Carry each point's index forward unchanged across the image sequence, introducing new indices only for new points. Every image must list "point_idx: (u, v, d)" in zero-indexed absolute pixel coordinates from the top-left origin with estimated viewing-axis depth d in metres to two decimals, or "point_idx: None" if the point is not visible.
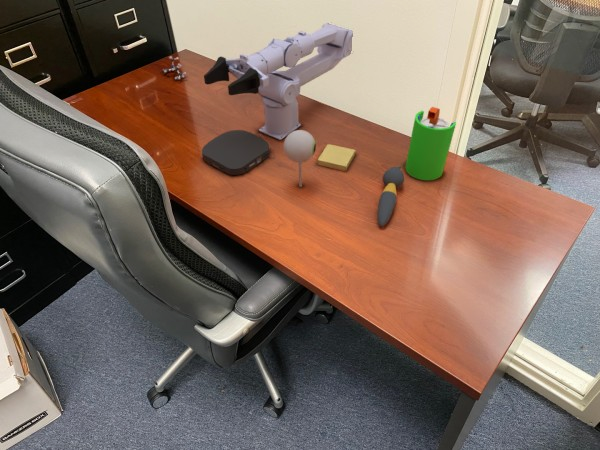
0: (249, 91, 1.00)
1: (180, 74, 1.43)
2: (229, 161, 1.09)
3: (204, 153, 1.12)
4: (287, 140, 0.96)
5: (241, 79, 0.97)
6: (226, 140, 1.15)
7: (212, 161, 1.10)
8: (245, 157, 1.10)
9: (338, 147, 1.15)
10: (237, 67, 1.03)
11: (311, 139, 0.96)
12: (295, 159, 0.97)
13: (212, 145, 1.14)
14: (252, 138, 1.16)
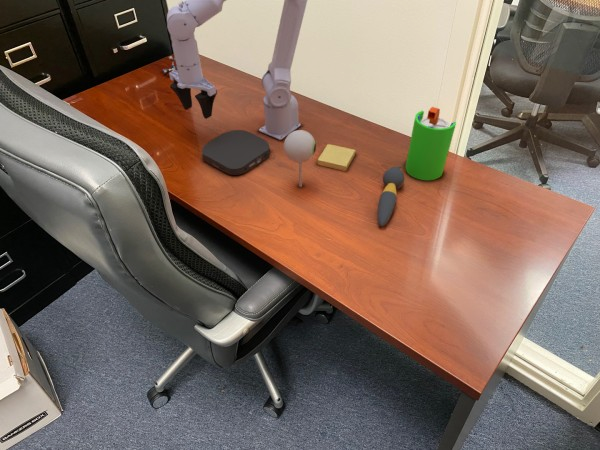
0: (213, 99, 1.10)
1: None
2: (229, 161, 1.09)
3: (204, 153, 1.12)
4: (287, 140, 0.96)
5: (203, 108, 1.10)
6: (226, 140, 1.15)
7: (212, 161, 1.10)
8: (245, 157, 1.10)
9: (338, 147, 1.15)
10: None
11: (311, 139, 0.96)
12: (295, 159, 0.97)
13: (212, 145, 1.14)
14: (252, 138, 1.16)
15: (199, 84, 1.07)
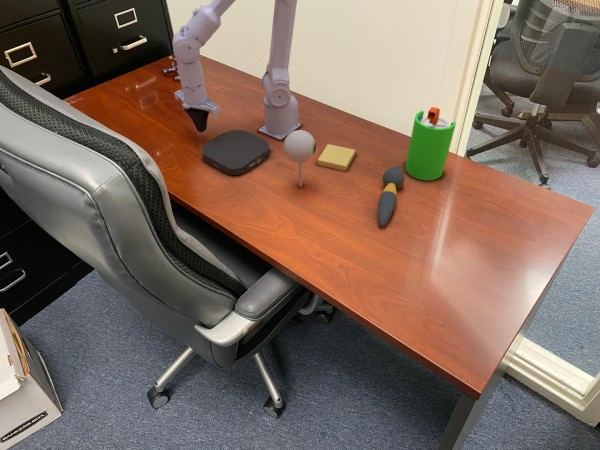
0: (208, 114, 1.15)
1: None
2: (229, 161, 1.09)
3: (204, 153, 1.12)
4: (287, 140, 0.96)
5: (198, 123, 1.15)
6: (226, 140, 1.15)
7: (212, 161, 1.10)
8: (245, 157, 1.10)
9: (338, 147, 1.15)
10: None
11: (311, 139, 0.96)
12: (295, 159, 0.97)
13: (212, 145, 1.14)
14: (252, 138, 1.16)
15: (203, 104, 1.11)
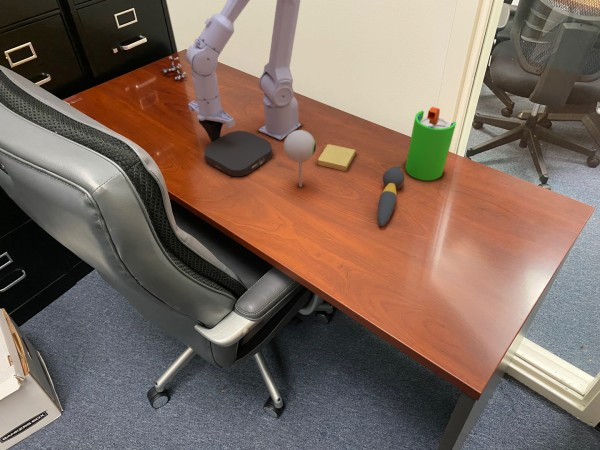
0: (221, 125, 1.14)
1: (180, 74, 1.43)
2: (231, 162, 1.09)
3: (206, 154, 1.12)
4: (287, 140, 0.96)
5: (211, 134, 1.14)
6: (229, 141, 1.15)
7: (214, 162, 1.10)
8: (248, 158, 1.10)
9: (338, 147, 1.15)
10: None
11: (311, 139, 0.96)
12: (295, 159, 0.97)
13: (214, 146, 1.14)
14: (254, 139, 1.15)
15: (218, 116, 1.10)
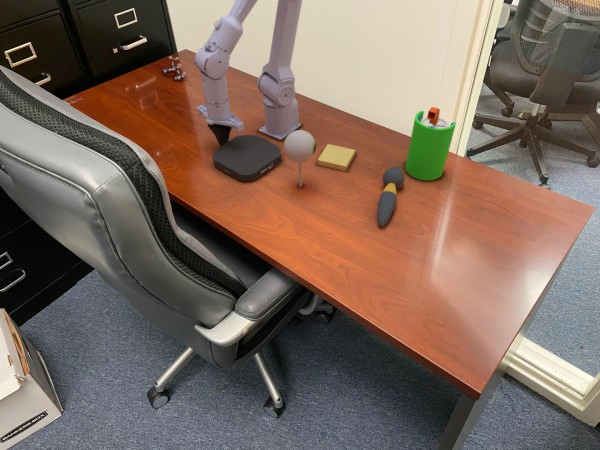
0: (230, 129, 1.13)
1: (180, 74, 1.43)
2: (240, 167, 1.07)
3: (215, 159, 1.10)
4: (287, 140, 0.96)
5: (220, 138, 1.13)
6: (237, 145, 1.14)
7: (223, 167, 1.09)
8: (257, 163, 1.08)
9: (338, 147, 1.15)
10: None
11: (311, 139, 0.96)
12: (295, 159, 0.97)
13: (223, 150, 1.12)
14: (263, 143, 1.14)
15: (227, 120, 1.08)
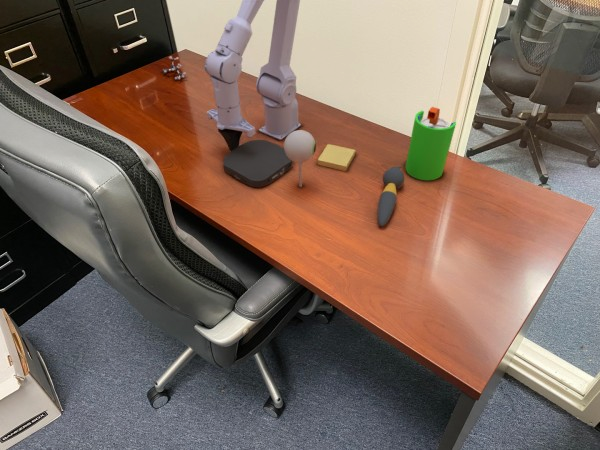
0: (241, 134, 1.11)
1: (180, 74, 1.43)
2: (251, 173, 1.06)
3: (225, 164, 1.09)
4: (287, 140, 0.96)
5: (230, 143, 1.11)
6: (248, 150, 1.12)
7: (234, 172, 1.07)
8: (268, 169, 1.06)
9: (338, 147, 1.15)
10: None
11: (311, 139, 0.96)
12: (295, 159, 0.97)
13: (233, 155, 1.11)
14: (274, 149, 1.12)
15: (238, 125, 1.07)
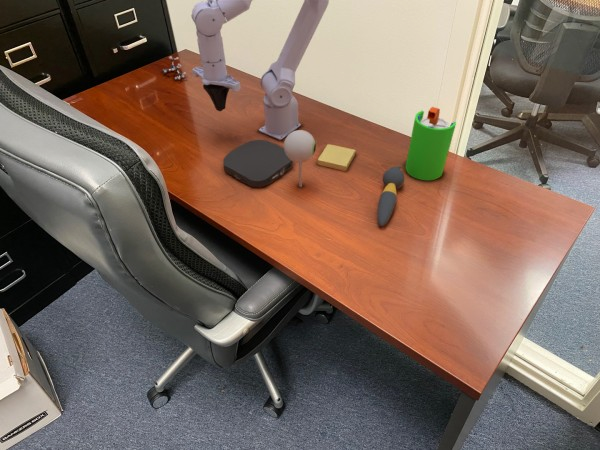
0: (227, 91, 1.11)
1: (180, 74, 1.43)
2: (251, 173, 1.06)
3: (225, 164, 1.09)
4: (287, 140, 0.96)
5: (217, 101, 1.10)
6: (248, 150, 1.12)
7: (234, 172, 1.07)
8: (268, 169, 1.06)
9: (338, 147, 1.15)
10: None
11: (311, 139, 0.96)
12: (295, 159, 0.97)
13: (234, 155, 1.11)
14: (274, 149, 1.12)
15: (223, 80, 1.06)
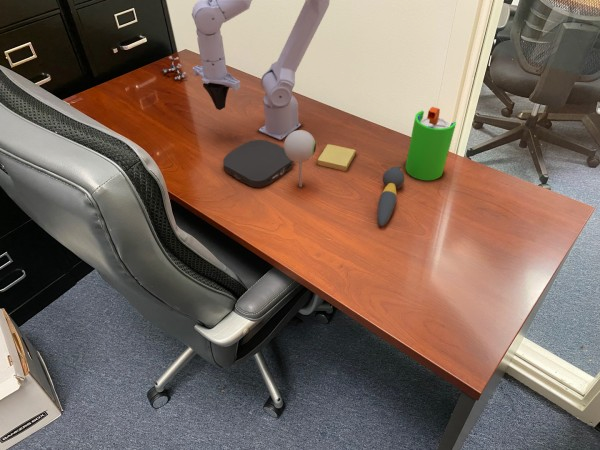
0: (227, 90, 1.11)
1: (180, 74, 1.43)
2: (251, 173, 1.06)
3: (225, 164, 1.09)
4: (287, 140, 0.96)
5: (217, 99, 1.11)
6: (248, 150, 1.12)
7: (234, 172, 1.07)
8: (268, 169, 1.06)
9: (338, 147, 1.15)
10: None
11: (311, 139, 0.96)
12: (295, 159, 0.97)
13: (234, 155, 1.11)
14: (274, 149, 1.12)
15: (223, 79, 1.07)
